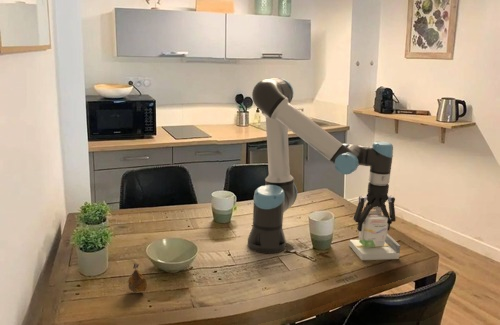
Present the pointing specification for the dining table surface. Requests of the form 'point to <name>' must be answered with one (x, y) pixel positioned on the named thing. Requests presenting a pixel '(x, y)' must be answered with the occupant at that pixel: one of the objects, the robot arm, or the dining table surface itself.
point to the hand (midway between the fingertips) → (372, 238)
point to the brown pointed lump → (137, 281)
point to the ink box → (374, 228)
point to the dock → (377, 250)
